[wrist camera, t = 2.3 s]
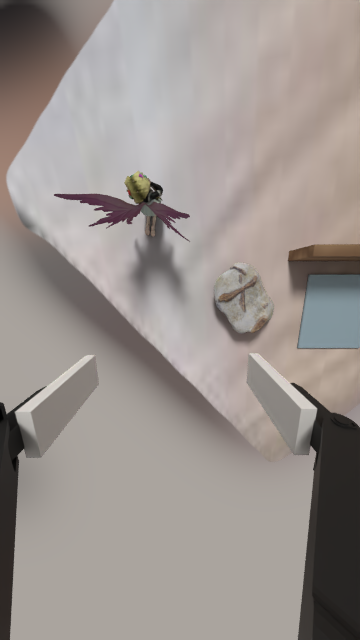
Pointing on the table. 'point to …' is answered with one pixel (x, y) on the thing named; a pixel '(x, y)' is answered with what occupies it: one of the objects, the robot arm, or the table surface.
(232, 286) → the stone
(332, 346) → the mat
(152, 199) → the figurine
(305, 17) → the table surface
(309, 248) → the corner walls
